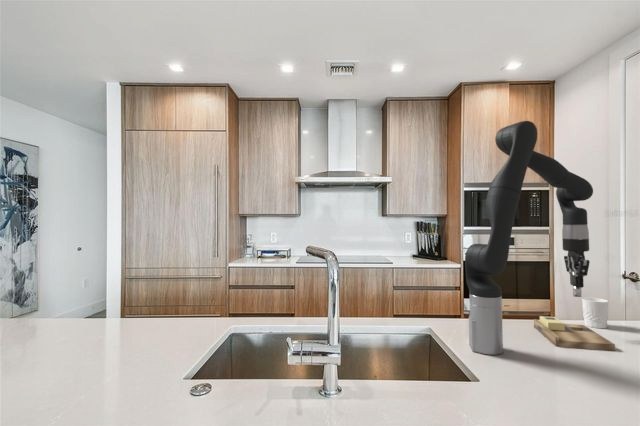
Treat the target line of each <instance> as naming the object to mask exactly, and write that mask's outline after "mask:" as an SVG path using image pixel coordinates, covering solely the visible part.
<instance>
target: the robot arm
mask: <svg viewBox="0 0 640 426" xmlns="http://www.w3.org/2000/svg"><path fill="white" fill-rule="evenodd" d="M537 141H538V128H537V126H536V124H535V123H534V122H533V121H531V120H524V121H523V120H522V121H518V122H515V123H513V124H510V125H506V126H505V127H502V128H501V129H499V130H498V131H497V132H496V134H495V145H496V146H497V148H498V149H499V150H500V151H501V152H502V153H503V154H505V155H507V156H508V158H507V160H506V162H505V163H504V165H503V166H502V167H501V168H500V170H499V171H498V172H497V174H496V175H495V176H494V178H493V179H492V180H491V183H490V185H489V187H488V191H487V194H486V199H485V208H486V213H487V217H488V219H489V222H490V232H489V233H490V234H489V239H488V241H487V244H486V243H472V244H471V245H469V247H467V249H466V251H465V256H464V257H465V258H464V267H465V277H466V278H465V281H466V285H467V286H468V287H467V288H468V291H469V295H468V296H469V315H468V345H469V347H470V349H471V351H472V352H474V353H475V352H476V353H479V354H484V355H491V356H493V355H494V356H495V355H501V354H503V353H504V341H503V339H504V338H503V337H504V335H503V333H504V332H503V300H502V299H503V297H502V296H503V293H502V287H501V286H500V284H497V283H496V282H495V281H494V280H493V279H492V278H491V275H492V276H497V275H500V274H502V273H503V272H504V270H505V269H506V266H507V263H508V261H509V260H508V259H509V254H510V253H509V252H510V247H511V246H510V245H511V238H512V232H513V231H512V230H513V226H514V221H515V216H516V214H517V213H516V212H517V209H518V206H519V201H520V198H521V193H522V188H523V184H524V181H525V176H526V173H527V170H528V168H529V169H530V170H531V171H533V172H534V173H536V174H537V175H538V176H539V177H540V178H541V179H543V180H544V181H545V182H546V183H547V184H548V185H549V186H551V187H553V188H556V191H555V195H556V199H557V202H558V205H559V208H560V210H561V213H562V229H561V231H562V232H561V235H562V236H561V237H562V250H563V251H564V252H567V255H564V256H563V259H564V264H565V269H566V273H568V274H569V279H570V280H569V281H570V283H569V284H570V285H571V270H574V271H575V286H576V287H580V288H581V289H582V288H584V277H587V276H588V272H589V267H590V260H589V259H586V256H585V252H589V251H590V233H589V227H588V210H587V209H585V208H582V207H577V206H576V204H575V202H582V201H587V200H590V198H592V196H593V194H594V188H593V186H592V184H591V183H590V182H589V181H588V180H587V179H585V178H583V177H581V176H579V175H577V174H575V173H573V172H571V171H569V170H568V169H567V168H566V167H565V166H564V165H563V164H562V163H560V162H559V160H557V159H554V157H550V156H548V155H545V154H542V153H540V152H539V151H538V152H537V151H536V150H535V148H536V144H537Z"/></svg>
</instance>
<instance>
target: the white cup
mask: <svg viewBox="0 0 640 426" xmlns="http://www.w3.org/2000/svg"><path fill="white" fill-rule="evenodd" d="M581 306H582V314H583V315H582V316H583V320H584V321H583V322H584V324H583V325H584V326H586V327H588V328H589V327H590V328H594V329H607V328H608V318H609V300H607V299H605V298H604V299H603V298H601V297H600V298H599V297H589V296H586V297H585V296H584V297H581Z"/></svg>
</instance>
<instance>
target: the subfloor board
mask: <svg viewBox="0 0 640 426" xmlns="http://www.w3.org/2000/svg"><path fill="white" fill-rule="evenodd" d="M533 328H534V329H535V330H536V331H538V332H539V333H540V334H541V336H543V337H545V338H546V339H547V341H549V342H551V344H552V345H553V346H555V347H558V348H559V347H560V348H572V349H573V348H574V349H585V350H586V349H587V350H599V351H610V352H611V351H612V352H613V351H614V352H616V343H613V342H612V341H611V340H609V339H607V338H605V337H603V336H602V335H601V334H599V333H597V332H596V331H594V330H592V329H591V328H589V327H588V326H586V325H585V324H578V323H577V324H575V323H565V331H561V330H549V329H548V328H547V327H546V326H544V325H543V324H542V323H541V322H540V320H538V318H537V319H536V318H534V319H533Z"/></svg>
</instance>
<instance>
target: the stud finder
mask: <svg viewBox="0 0 640 426" xmlns="http://www.w3.org/2000/svg"><path fill="white" fill-rule="evenodd" d="M539 322H541V323H542V324H543V325H544V326H546V327H547V328H548V329H549V330H561V331H565V324H566V323H564V322H563V321H562V320H560V319H559V318H557V317H555V316H542V315H539Z"/></svg>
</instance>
